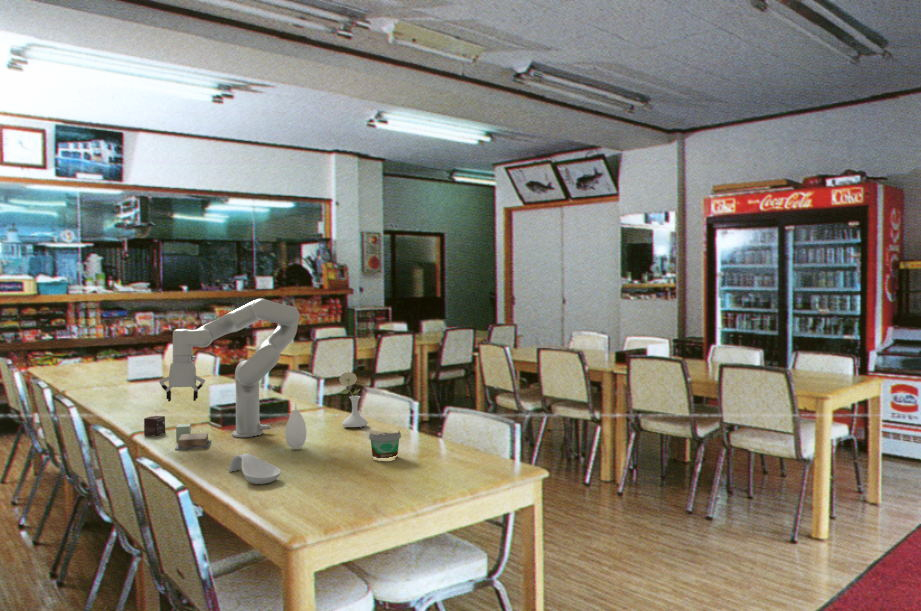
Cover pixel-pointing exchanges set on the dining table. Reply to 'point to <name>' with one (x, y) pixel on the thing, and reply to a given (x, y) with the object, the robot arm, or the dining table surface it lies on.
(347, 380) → the flower in vase
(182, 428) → the block
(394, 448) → the food container
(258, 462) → the spoon rest
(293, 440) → the sauce bottle
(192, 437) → the plinth
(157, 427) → the box
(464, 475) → the dining table surface
